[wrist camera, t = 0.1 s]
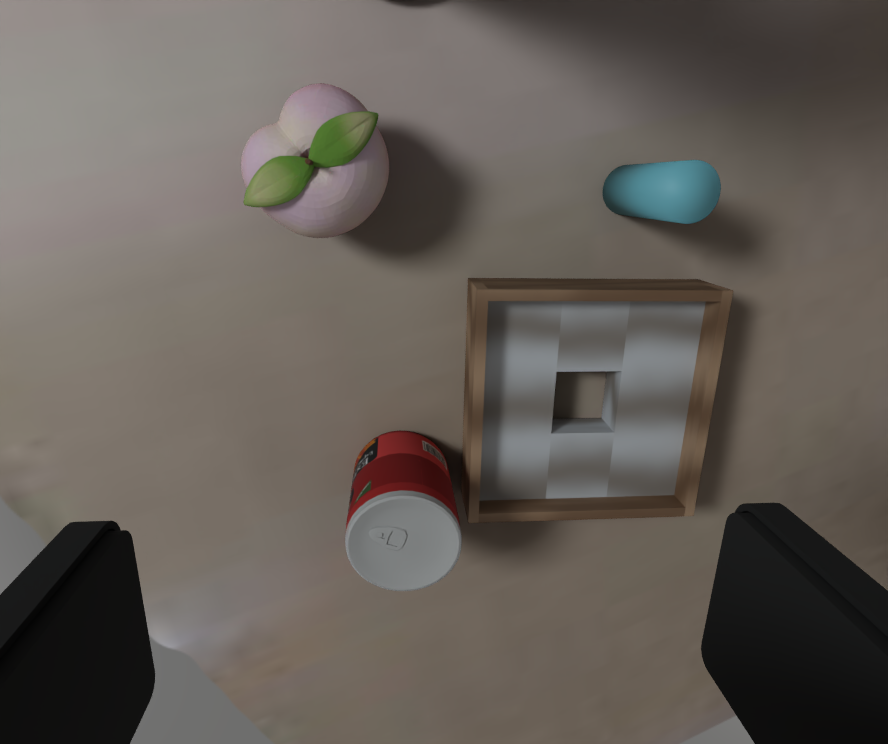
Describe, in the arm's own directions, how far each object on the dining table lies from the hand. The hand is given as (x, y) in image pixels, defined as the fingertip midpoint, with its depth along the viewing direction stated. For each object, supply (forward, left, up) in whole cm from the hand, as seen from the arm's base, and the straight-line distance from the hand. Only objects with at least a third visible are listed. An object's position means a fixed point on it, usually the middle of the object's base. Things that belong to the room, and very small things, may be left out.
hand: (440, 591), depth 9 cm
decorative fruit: (-7, -5, -37) cm, 38 cm away
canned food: (+17, 0, -37) cm, 41 cm away
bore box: (+10, +14, -37) cm, 41 cm away
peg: (-6, +17, -37) cm, 41 cm away
